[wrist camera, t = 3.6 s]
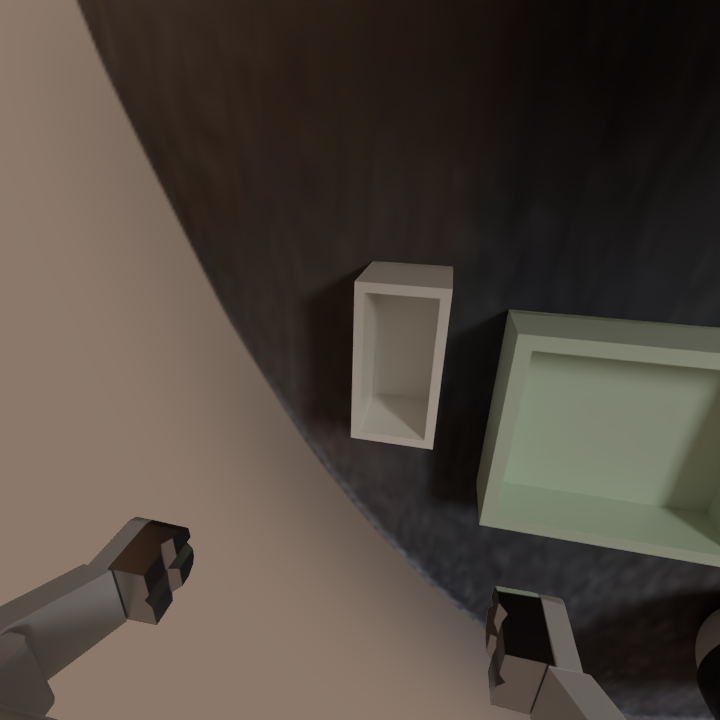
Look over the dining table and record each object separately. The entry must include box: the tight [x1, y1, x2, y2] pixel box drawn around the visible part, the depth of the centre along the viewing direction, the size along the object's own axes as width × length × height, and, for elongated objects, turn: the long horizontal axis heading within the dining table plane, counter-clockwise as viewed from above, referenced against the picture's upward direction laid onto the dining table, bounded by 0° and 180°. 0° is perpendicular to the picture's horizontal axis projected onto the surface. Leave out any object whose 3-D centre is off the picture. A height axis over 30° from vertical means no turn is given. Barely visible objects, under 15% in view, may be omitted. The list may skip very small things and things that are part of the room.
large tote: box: [476, 309, 720, 567], centre depth 23 cm, size 15×13×4 cm
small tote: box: [351, 261, 453, 450], centre depth 23 cm, size 5×9×5 cm, turn 178°
